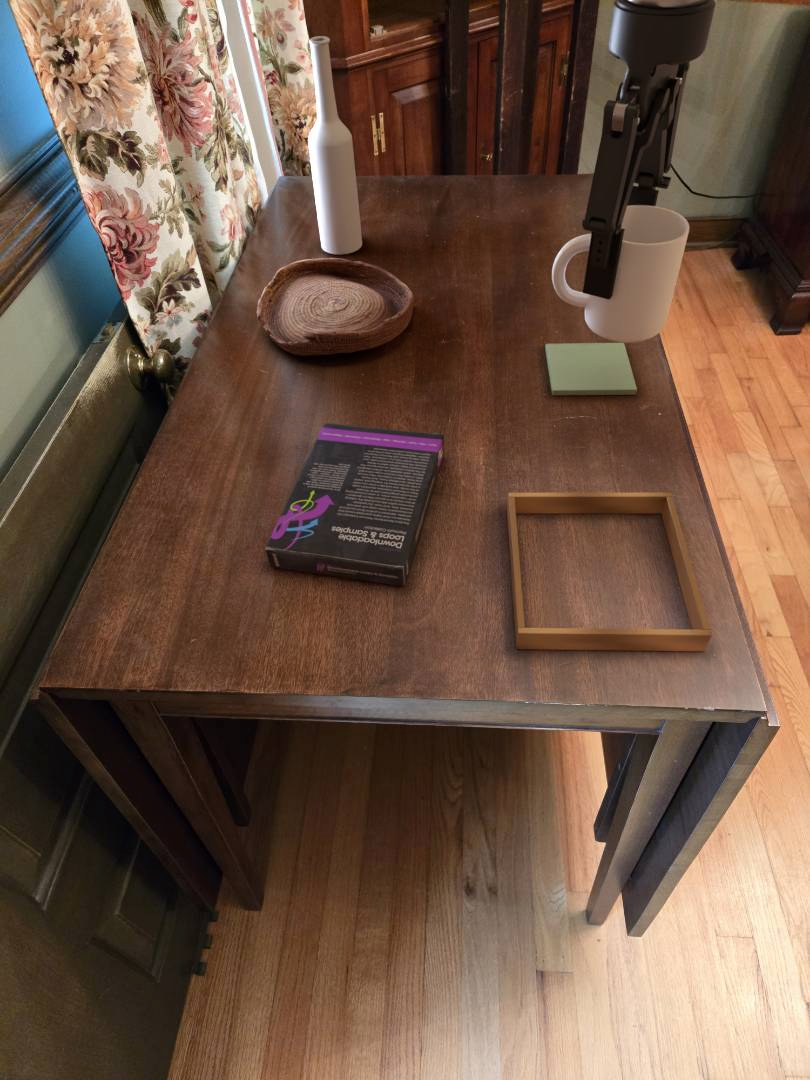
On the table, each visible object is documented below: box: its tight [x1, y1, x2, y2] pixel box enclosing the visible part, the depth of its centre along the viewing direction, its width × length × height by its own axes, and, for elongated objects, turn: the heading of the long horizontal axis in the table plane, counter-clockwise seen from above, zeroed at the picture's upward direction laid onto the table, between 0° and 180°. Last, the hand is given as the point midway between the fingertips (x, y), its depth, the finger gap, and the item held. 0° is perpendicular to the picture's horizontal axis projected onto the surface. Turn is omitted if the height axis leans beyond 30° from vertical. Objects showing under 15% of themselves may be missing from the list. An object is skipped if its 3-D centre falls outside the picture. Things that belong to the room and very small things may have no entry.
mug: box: [551, 205, 690, 343], centre depth 72 cm, size 12×8×10 cm
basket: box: [256, 257, 415, 357], centre depth 99 cm, size 22×20×5 cm
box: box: [264, 422, 445, 587], centre depth 75 cm, size 14×4×20 cm
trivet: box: [544, 342, 638, 396], centre depth 90 cm, size 10×10×1 cm
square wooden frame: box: [506, 492, 713, 652], centre depth 68 cm, size 16×17×2 cm
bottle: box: [307, 35, 363, 256], centre depth 106 cm, size 7×7×28 cm
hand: (614, 273), depth 72 cm, fingers closed on mug, 8 cm apart
